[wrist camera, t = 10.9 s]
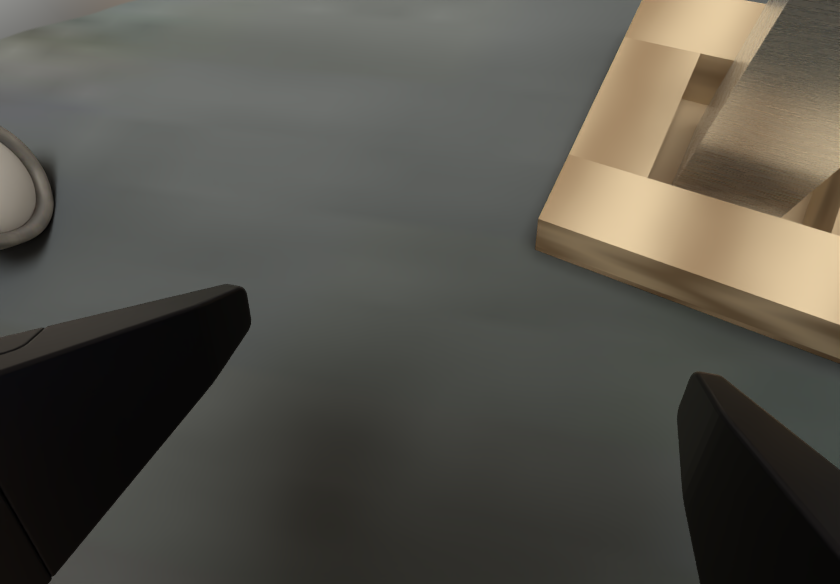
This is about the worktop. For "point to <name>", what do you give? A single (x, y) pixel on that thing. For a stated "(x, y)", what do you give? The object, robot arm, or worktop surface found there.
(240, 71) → the worktop surface
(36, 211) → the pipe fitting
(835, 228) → the socket block
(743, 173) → the grey rectangular block
